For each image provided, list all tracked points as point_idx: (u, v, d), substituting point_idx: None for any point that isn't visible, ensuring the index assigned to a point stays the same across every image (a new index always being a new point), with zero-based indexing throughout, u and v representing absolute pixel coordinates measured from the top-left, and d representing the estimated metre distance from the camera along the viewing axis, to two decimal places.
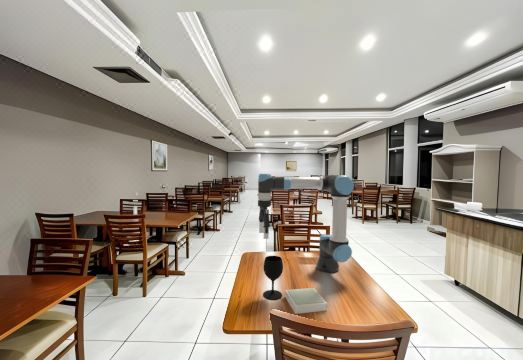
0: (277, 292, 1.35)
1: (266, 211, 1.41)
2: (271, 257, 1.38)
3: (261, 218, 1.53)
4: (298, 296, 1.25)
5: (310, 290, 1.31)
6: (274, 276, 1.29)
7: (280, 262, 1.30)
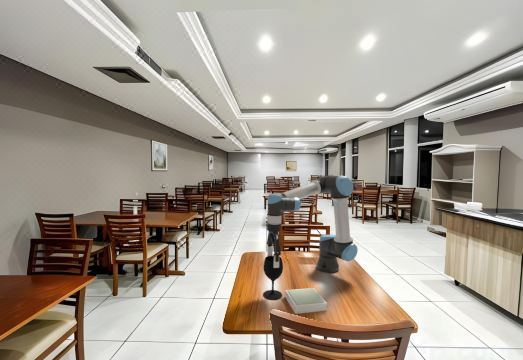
0: (277, 292, 1.35)
1: (277, 237, 1.26)
2: (271, 257, 1.38)
3: (270, 242, 1.38)
4: (298, 296, 1.25)
5: (310, 290, 1.31)
6: (274, 276, 1.29)
7: (280, 262, 1.30)
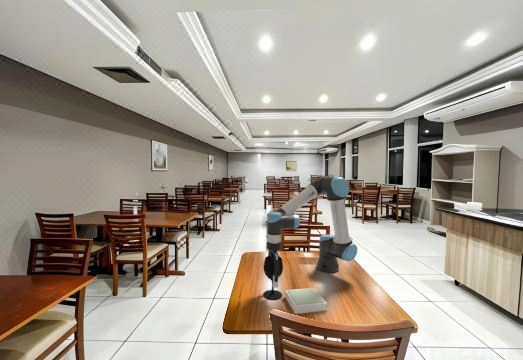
0: (277, 292, 1.35)
1: (276, 257, 1.26)
2: None
3: None
4: (298, 296, 1.25)
5: (310, 290, 1.31)
6: None
7: (280, 262, 1.30)
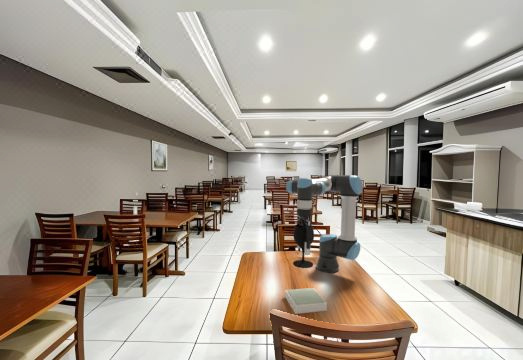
0: (307, 261, 1.30)
1: (309, 223, 1.21)
2: None
3: None
4: (298, 296, 1.25)
5: (310, 290, 1.31)
6: None
7: None
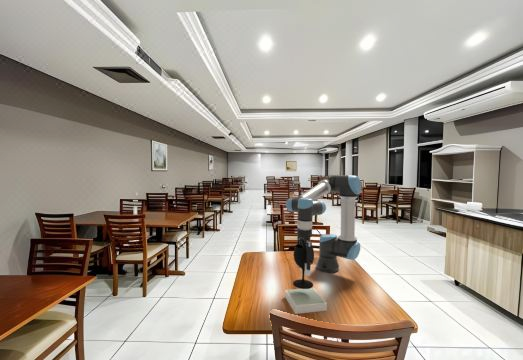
0: (307, 281, 1.30)
1: (309, 244, 1.21)
2: None
3: None
4: (298, 296, 1.25)
5: (310, 290, 1.31)
6: None
7: (312, 250, 1.25)
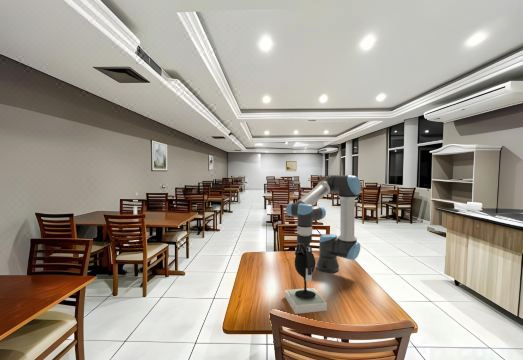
0: (310, 291, 1.27)
1: (309, 249, 1.21)
2: (301, 254, 1.32)
3: None
4: None
5: (310, 290, 1.31)
6: None
7: None
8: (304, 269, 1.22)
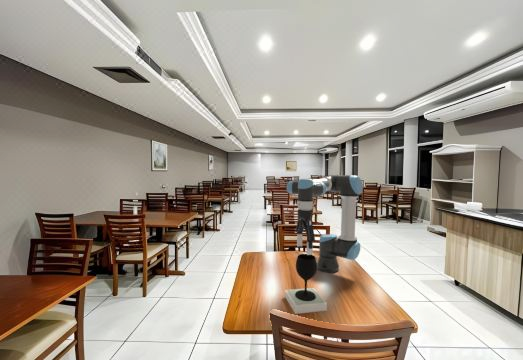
0: (310, 293, 1.27)
1: (310, 223, 1.21)
2: (303, 255, 1.29)
3: (300, 230, 1.33)
4: None
5: (310, 290, 1.31)
6: (308, 276, 1.21)
7: (314, 261, 1.22)
8: (305, 273, 1.20)
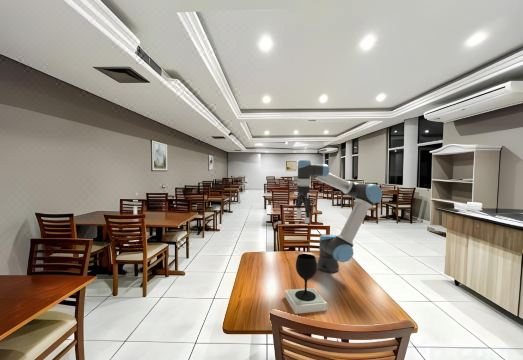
0: (310, 293, 1.27)
1: (307, 196, 1.45)
2: (303, 255, 1.29)
3: (299, 204, 1.57)
4: None
5: (310, 290, 1.31)
6: (308, 275, 1.21)
7: (314, 260, 1.22)
8: (305, 273, 1.20)
